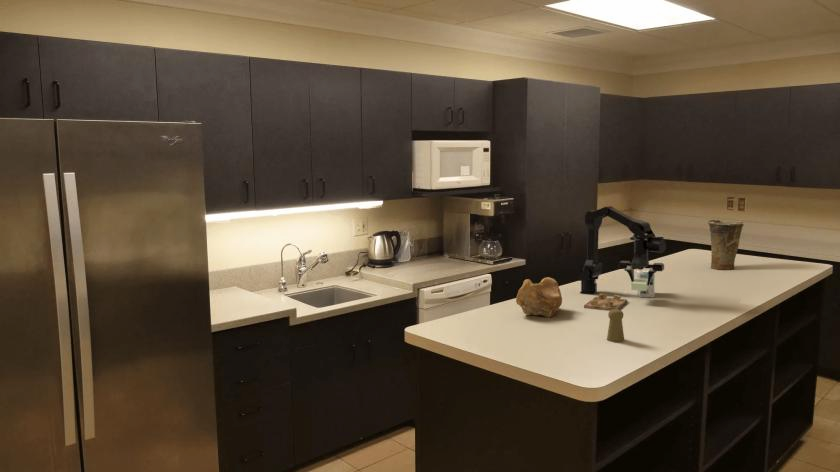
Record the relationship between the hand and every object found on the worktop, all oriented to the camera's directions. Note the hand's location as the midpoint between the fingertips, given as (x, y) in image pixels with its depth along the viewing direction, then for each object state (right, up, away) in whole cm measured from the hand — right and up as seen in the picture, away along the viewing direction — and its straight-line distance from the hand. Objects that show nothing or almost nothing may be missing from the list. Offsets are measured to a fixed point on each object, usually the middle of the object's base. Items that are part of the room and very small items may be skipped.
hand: (640, 285), depth 279 cm
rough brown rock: (-46, -11, -15) cm, 50 cm away
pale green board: (0, -1, 0) cm, 1 cm away
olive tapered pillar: (-28, -16, -54) cm, 63 cm away
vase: (+72, +3, +72) cm, 102 cm away
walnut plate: (-16, -9, -3) cm, 19 cm away
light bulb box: (+7, -6, +14) cm, 17 cm away
